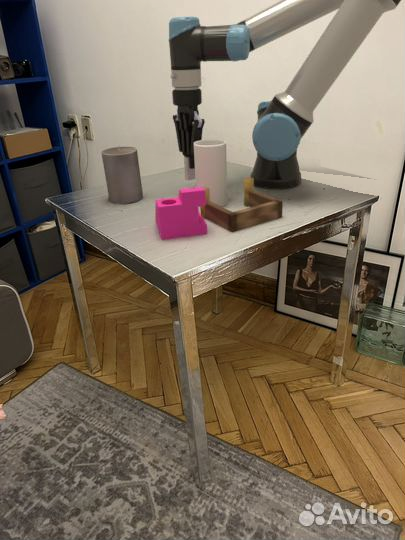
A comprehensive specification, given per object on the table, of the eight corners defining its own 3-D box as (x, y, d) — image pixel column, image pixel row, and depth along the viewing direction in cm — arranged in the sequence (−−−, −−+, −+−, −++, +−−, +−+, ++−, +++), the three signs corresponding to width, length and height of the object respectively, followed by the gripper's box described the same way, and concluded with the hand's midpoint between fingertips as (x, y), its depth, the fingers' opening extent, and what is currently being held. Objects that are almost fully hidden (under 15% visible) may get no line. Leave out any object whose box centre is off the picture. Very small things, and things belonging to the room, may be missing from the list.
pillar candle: (118, 192, 121) (110, 141, 113) (148, 194, 118) (142, 141, 111) (103, 203, 113) (93, 149, 105) (135, 205, 110) (127, 149, 103)
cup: (224, 208, 104) (223, 145, 97) (193, 208, 106) (190, 145, 98) (229, 198, 111) (228, 139, 104) (200, 198, 113) (197, 139, 105)
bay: (249, 202, 107) (249, 176, 104) (283, 216, 97) (284, 188, 94) (198, 216, 100) (197, 188, 97) (229, 232, 90) (229, 202, 87)
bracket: (207, 234, 90) (205, 190, 85) (161, 240, 88) (157, 195, 84) (196, 216, 101) (194, 175, 96) (155, 221, 99) (151, 180, 94)
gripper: (162, 88, 106) (168, 176, 117) (186, 90, 96) (190, 186, 107) (186, 86, 109) (190, 172, 121) (212, 88, 100) (214, 182, 111)
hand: (190, 179), depth 114 cm, fingers closed
